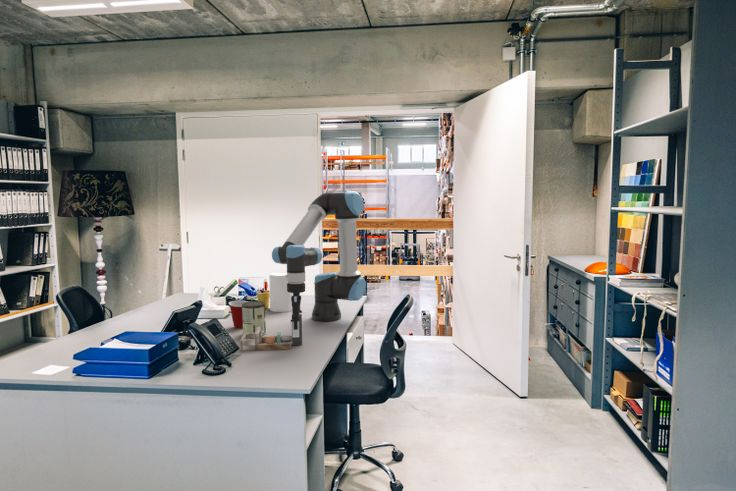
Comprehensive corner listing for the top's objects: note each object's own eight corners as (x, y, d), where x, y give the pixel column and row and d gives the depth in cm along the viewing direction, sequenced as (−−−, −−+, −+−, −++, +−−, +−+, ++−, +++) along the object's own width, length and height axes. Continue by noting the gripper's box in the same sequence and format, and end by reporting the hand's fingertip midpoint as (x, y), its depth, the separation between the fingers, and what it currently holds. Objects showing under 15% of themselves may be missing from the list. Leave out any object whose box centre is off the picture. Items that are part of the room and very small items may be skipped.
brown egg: (275, 343, 200) (275, 334, 200) (275, 346, 196) (274, 336, 196) (266, 343, 200) (266, 334, 199) (265, 346, 196) (265, 337, 195)
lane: (292, 340, 205) (291, 325, 204) (290, 348, 193) (290, 333, 192) (244, 341, 203) (244, 326, 202) (240, 350, 191) (239, 334, 190)
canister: (282, 305, 273) (282, 271, 272) (299, 308, 266) (299, 273, 264) (265, 309, 263) (264, 274, 261) (282, 313, 255) (281, 276, 253)
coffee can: (250, 330, 221) (250, 300, 220) (270, 332, 218) (269, 301, 217) (238, 336, 211) (237, 305, 210) (258, 338, 208) (257, 306, 207)
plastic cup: (246, 330, 220) (245, 305, 219) (224, 329, 222) (224, 304, 221) (256, 324, 231) (255, 300, 230) (235, 323, 233) (235, 299, 232)
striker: (302, 341, 201) (301, 314, 200) (301, 344, 197) (301, 316, 196) (277, 342, 200) (277, 314, 199) (276, 345, 196) (276, 317, 195)
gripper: (288, 278, 208) (289, 325, 210) (284, 287, 184) (285, 341, 185) (305, 277, 209) (306, 325, 211) (304, 287, 184) (304, 340, 186)
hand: (296, 332), depth 198 cm, fingers open, 13 cm apart
